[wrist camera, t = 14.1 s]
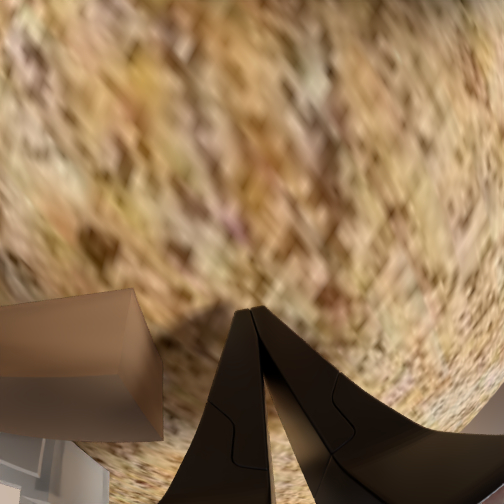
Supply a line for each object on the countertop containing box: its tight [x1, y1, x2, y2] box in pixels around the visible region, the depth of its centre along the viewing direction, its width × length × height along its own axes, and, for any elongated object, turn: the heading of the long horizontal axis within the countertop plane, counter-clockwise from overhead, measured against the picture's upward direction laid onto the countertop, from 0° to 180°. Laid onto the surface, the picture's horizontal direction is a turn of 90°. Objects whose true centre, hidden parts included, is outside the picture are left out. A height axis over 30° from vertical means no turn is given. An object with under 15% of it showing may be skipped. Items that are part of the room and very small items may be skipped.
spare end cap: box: [0, 439, 110, 504], centre depth 12 cm, size 10×9×5 cm
